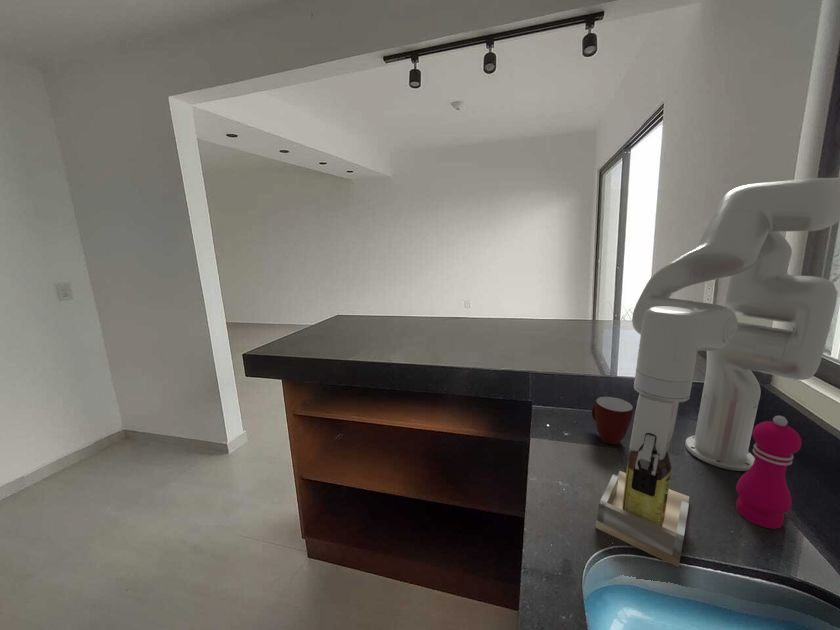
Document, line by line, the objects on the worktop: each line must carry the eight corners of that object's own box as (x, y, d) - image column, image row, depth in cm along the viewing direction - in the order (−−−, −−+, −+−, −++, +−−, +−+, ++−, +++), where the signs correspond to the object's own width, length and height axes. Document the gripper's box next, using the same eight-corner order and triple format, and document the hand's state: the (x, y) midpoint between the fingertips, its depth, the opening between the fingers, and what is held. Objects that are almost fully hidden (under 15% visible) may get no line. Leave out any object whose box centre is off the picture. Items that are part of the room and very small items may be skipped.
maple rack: (619, 475, 76) (621, 456, 75) (688, 502, 68) (692, 480, 67) (595, 527, 63) (598, 504, 62) (678, 567, 55) (683, 542, 54)
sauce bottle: (669, 539, 59) (688, 431, 54) (627, 532, 60) (643, 427, 55) (652, 509, 65) (668, 411, 60) (615, 504, 66) (628, 407, 62)
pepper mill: (792, 538, 60) (820, 432, 56) (736, 520, 64) (758, 420, 59) (778, 510, 66) (803, 412, 62) (728, 496, 70) (748, 402, 65)
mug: (577, 430, 93) (580, 395, 91) (600, 424, 96) (603, 390, 94) (611, 452, 84) (616, 414, 82) (635, 445, 87) (641, 407, 85)
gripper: (644, 363, 66) (633, 445, 69) (623, 395, 53) (611, 494, 57) (695, 373, 61) (680, 460, 65) (685, 410, 48) (667, 517, 52)
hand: (647, 476), depth 61 cm, fingers open, 9 cm apart
